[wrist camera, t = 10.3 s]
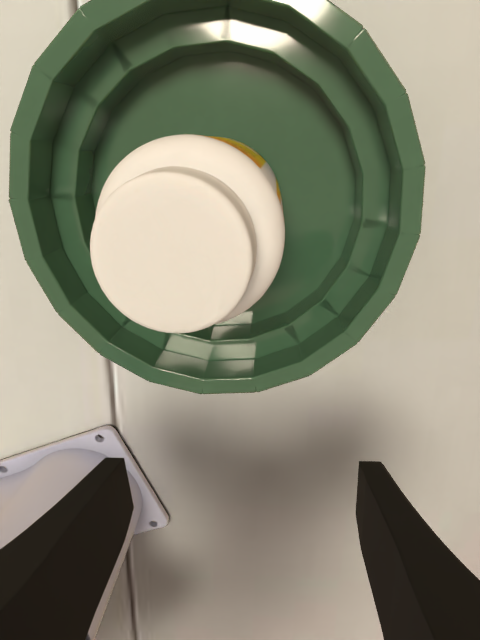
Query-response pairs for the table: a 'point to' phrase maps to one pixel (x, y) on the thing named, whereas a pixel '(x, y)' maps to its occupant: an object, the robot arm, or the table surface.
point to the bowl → (241, 125)
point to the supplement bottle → (188, 232)
